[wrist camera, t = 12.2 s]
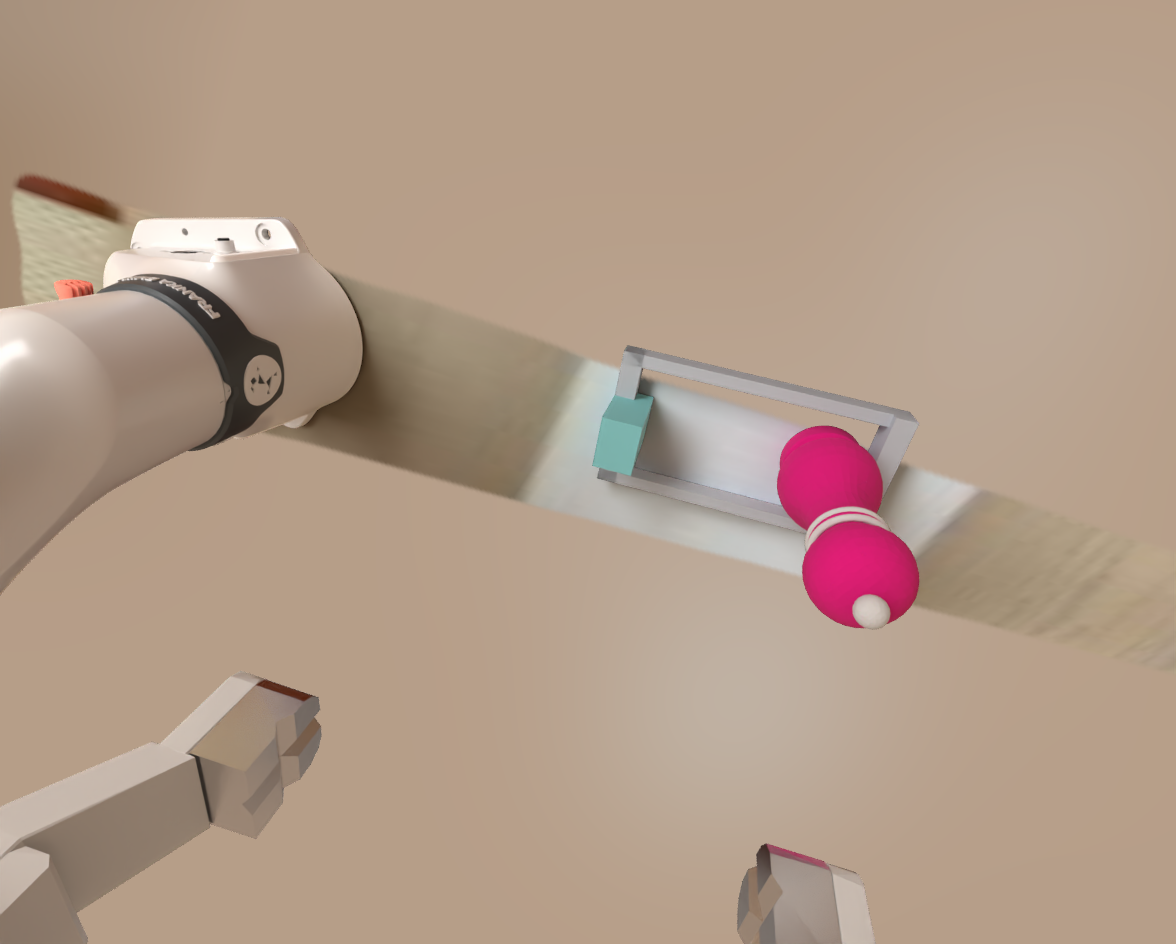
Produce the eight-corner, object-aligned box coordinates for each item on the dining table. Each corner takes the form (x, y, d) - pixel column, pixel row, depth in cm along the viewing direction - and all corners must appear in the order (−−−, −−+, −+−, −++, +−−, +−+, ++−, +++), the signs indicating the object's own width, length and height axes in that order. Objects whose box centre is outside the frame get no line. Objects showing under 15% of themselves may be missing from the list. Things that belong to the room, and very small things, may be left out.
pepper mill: (887, 469, 46) (985, 641, 28) (806, 515, 49) (849, 695, 31) (834, 401, 44) (904, 537, 27) (755, 452, 48) (770, 604, 30)
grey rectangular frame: (601, 469, 51) (583, 507, 45) (627, 345, 46) (612, 368, 40) (851, 535, 49) (869, 584, 43) (909, 411, 44) (939, 447, 37)
